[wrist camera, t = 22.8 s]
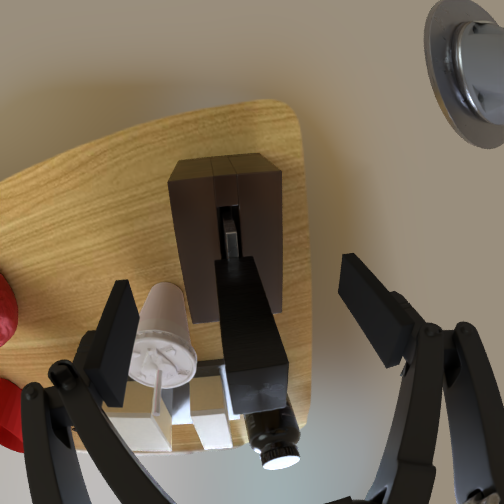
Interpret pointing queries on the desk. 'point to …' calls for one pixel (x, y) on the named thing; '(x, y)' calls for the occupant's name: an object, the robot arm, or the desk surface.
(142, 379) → the smoothie
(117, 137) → the desk surface
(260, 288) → the knife
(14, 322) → the pomegranate
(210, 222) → the knife block
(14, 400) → the ceramic cup
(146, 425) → the cake
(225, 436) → the cream rectangular block
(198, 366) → the cake board
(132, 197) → the desk surface
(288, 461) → the supplement bottle
